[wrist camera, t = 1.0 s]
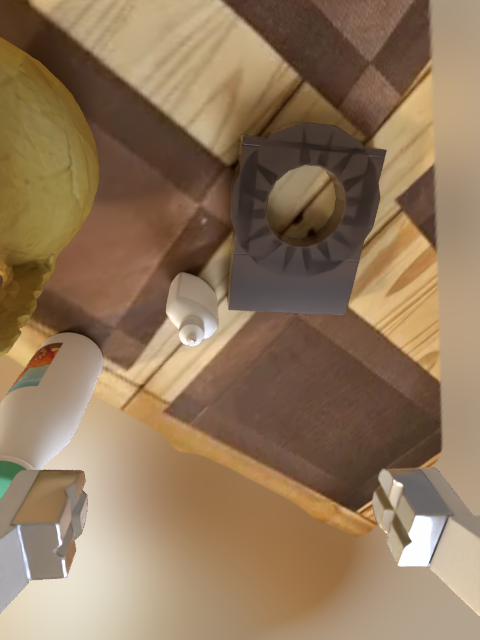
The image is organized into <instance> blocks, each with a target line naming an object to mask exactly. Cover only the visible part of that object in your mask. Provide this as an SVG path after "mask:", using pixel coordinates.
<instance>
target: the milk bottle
mask: <svg viewBox="0 0 480 640" xmlns="http://www.w3.org/2000/svg"><path fill="white" fill-rule="evenodd" d="M102 368H103V356H102V353H101V351H100V349H99V348H98V346H97V345H96V344H95V343H94V342H93V341H92V340H90V339H89V338H88V337H85V336H83V335H81V334H77V333H71V332H67V333H60V334H56V335H53V336H51V337H49V338H48V339H47V340H45V341H44V343H43V344H42V345H41V346H40V348H39V349H38V350H37V352H36V353H35V355H34V356H33V357H32V359H31V360H30V362H29V363H28V364H27V366H26V367H25V369H24V370H23V371H22V373H21V374H20V376H19V377H18V379H17V380H16V381H15V383H14V384H13V386H12V387H11V389H10V390H9V391H8V393H7V395H6V396H5V398H4V399H3V401H2V403H1V404H0V500H1V499H2V497H3V496H4V494H5V492H6V491H7V489H8V487H9V486H10V484H11V482H12V481H13V479H14V477H15V476H16V474H18V473H19V472H20V471H21V470H40V469H41V468H42V467H43V466H44V465H45V464H46V463H47V462H48V461H49V460H50V459H52V458H53V457H54V456H56V455H57V454H58V453H59V452H60V451H61V450H62V449H63V448H64V447H65V446H66V445H67V444H68V443H69V441H70V440H71V438H72V437H73V435H74V434H75V432H76V430H77V428H78V426H79V424H80V421H81V419H82V417H83V415H84V412H85V410H86V407H87V405H88V403H89V400H90V397H91V395H92V393H93V391H94V388H95V386H96V383H97V381H98V378H99V376H100V373H101V370H102Z"/></svg>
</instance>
